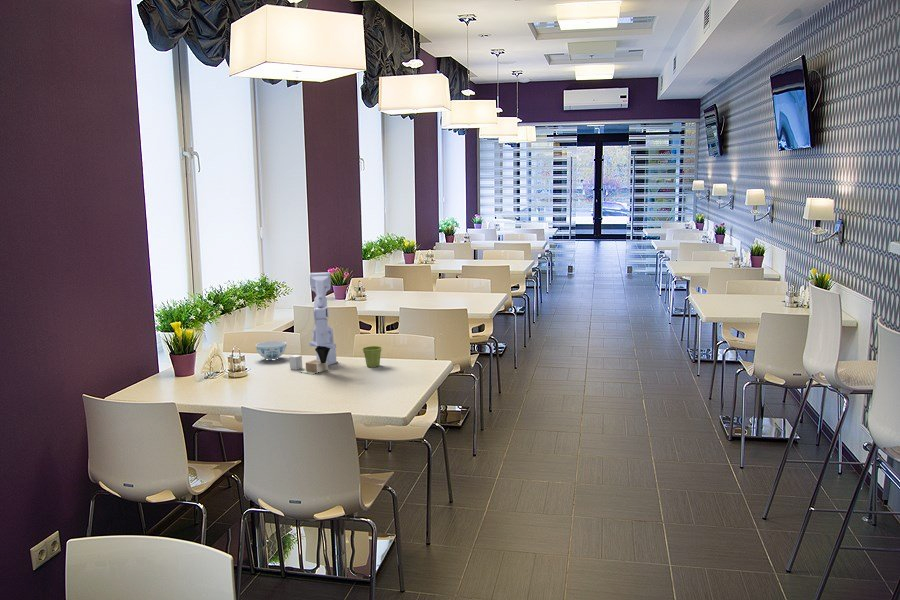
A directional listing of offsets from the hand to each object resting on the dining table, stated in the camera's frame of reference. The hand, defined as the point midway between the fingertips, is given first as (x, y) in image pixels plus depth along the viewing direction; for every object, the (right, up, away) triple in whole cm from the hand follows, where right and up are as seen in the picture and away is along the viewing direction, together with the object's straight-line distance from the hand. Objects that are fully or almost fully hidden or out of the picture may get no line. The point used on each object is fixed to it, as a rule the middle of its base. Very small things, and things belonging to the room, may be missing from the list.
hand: (323, 362), depth 360 cm
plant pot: (+22, -3, +10) cm, 24 cm away
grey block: (-14, -4, +10) cm, 18 cm away
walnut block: (-1, -2, +1) cm, 2 cm away
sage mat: (-5, -4, +4) cm, 7 cm away
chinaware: (-31, -1, +32) cm, 44 cm away
